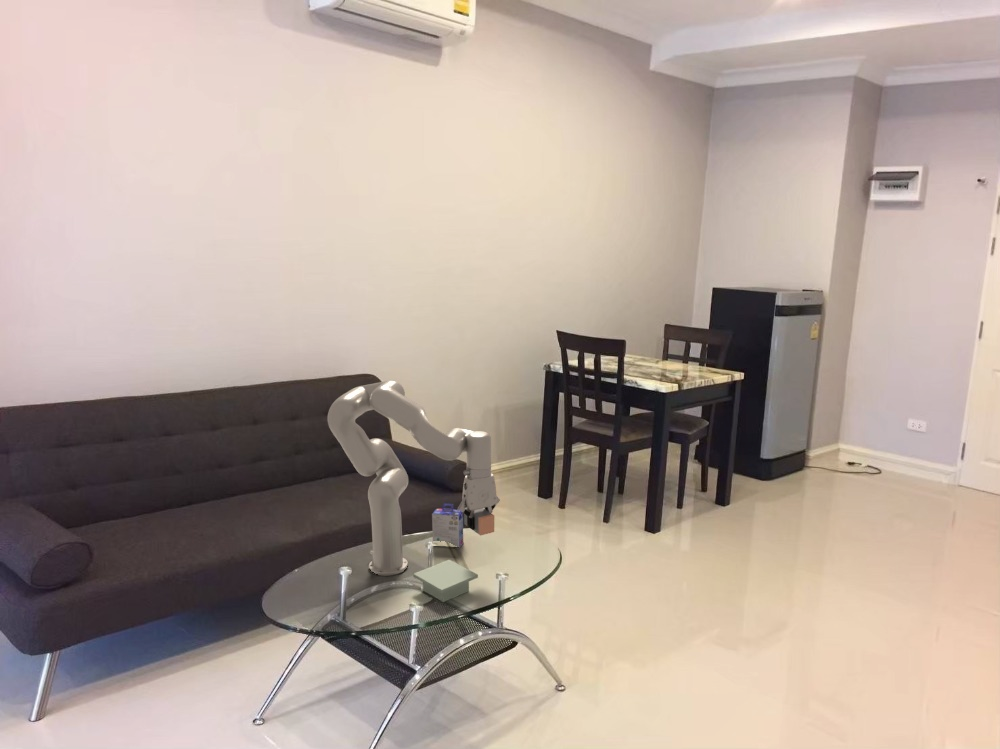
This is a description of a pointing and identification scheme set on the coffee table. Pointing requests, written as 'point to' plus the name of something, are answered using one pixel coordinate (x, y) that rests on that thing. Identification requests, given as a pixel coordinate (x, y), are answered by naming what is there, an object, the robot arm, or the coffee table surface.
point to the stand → (445, 580)
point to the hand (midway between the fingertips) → (479, 525)
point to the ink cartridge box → (448, 525)
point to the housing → (482, 521)
